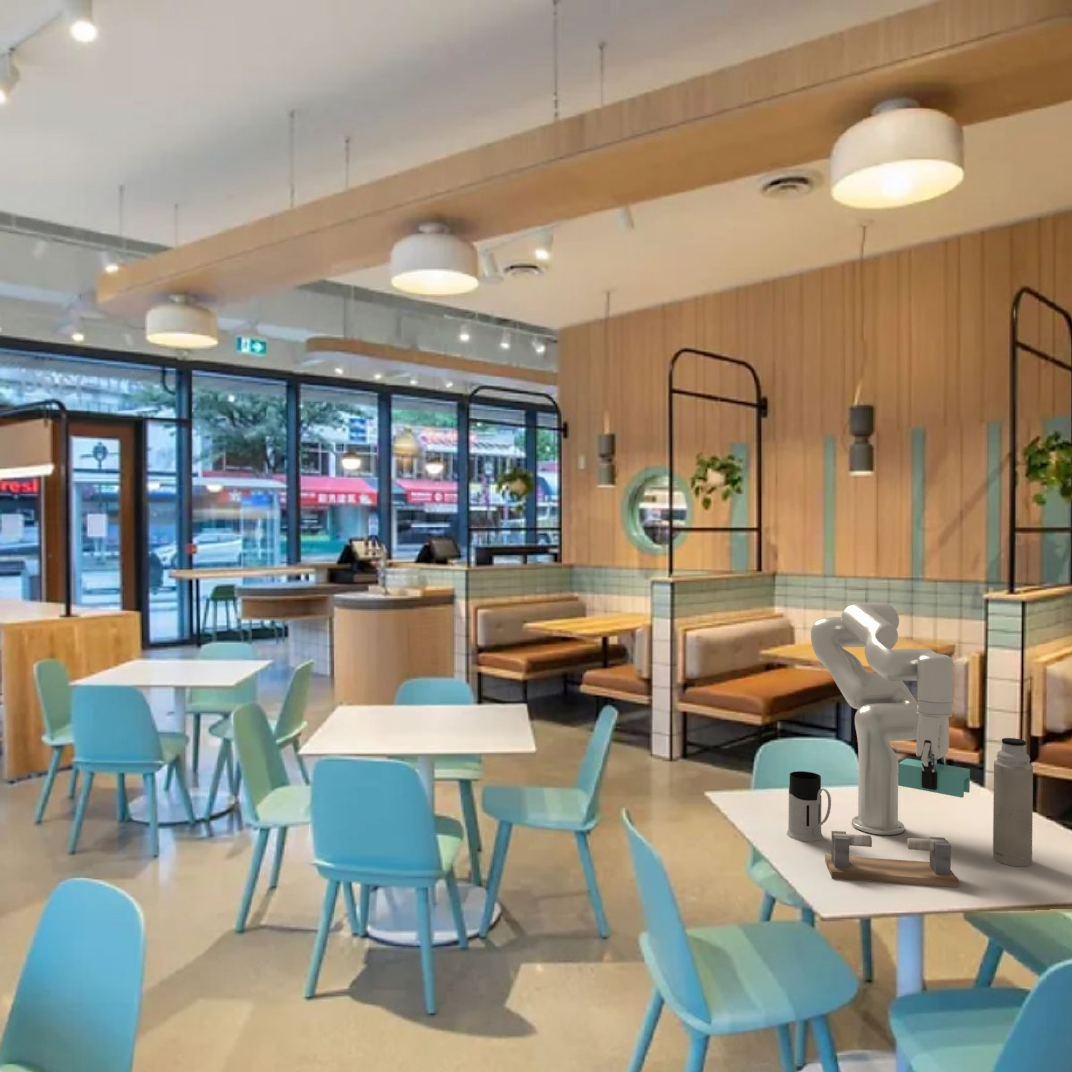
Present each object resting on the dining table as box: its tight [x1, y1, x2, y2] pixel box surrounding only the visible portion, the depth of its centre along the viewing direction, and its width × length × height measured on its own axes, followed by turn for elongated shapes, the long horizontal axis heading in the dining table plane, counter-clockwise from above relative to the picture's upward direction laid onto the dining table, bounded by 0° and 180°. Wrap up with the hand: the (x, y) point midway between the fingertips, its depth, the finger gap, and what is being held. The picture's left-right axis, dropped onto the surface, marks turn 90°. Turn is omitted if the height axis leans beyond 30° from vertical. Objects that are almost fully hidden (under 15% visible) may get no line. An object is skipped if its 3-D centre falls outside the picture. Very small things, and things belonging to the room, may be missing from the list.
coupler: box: [898, 757, 971, 798], centre depth 205 cm, size 6×14×5 cm, turn 50°
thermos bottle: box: [992, 737, 1034, 867], centre depth 204 cm, size 8×8×28 cm
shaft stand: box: [824, 830, 960, 888], centre depth 196 cm, size 10×26×8 cm, turn 80°
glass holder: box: [786, 770, 832, 842], centre depth 218 cm, size 9×14×15 cm, turn 19°
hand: (933, 784), depth 205 cm, fingers closed on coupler, 6 cm apart
